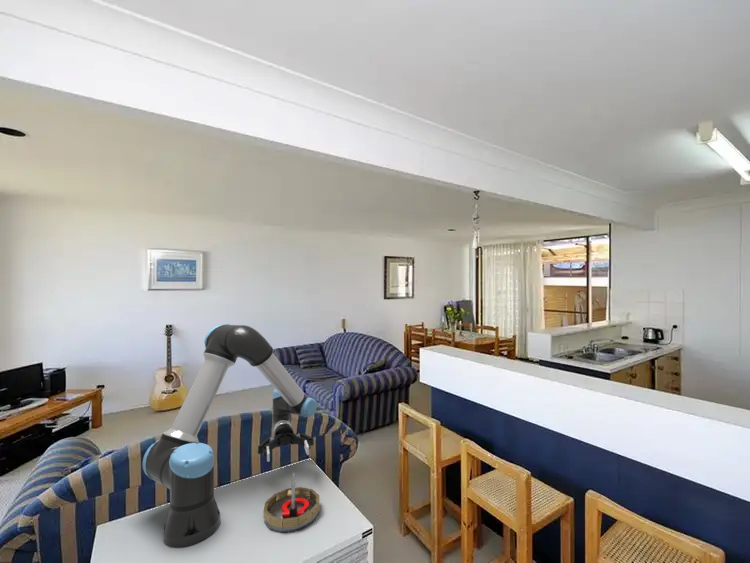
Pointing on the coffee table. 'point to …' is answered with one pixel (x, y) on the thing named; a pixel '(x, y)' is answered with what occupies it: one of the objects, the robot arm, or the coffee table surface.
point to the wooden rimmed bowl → (275, 509)
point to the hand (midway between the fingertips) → (288, 454)
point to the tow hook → (294, 503)
